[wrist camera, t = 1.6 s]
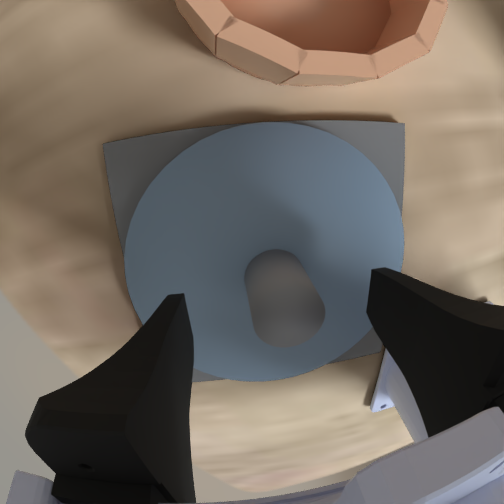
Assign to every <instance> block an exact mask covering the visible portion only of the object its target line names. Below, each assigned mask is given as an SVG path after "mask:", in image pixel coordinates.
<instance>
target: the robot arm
mask: <svg viewBox="0 0 504 504" xmlns="http://www.w3.org/2000/svg"><path fill="white" fill-rule="evenodd" d="M366 313H367V315H368V318H369V320H370V322H371V324H372V326H373V328H374V330H375V332H376V334H377V335H378V337H379V338H380V340H381V341H382V343H383V344H384V346H385V348H386V349H385V353H384V357H383V362H382V365H381V369H380V373H379V377H378V381H377V384H376V388H375V391H374V395H373V398H372V402H371V405H370V409H371V411H372V412H377V411H381V410H384V409H387V408H390V407H394V406H395V408H396V409H397V411H398V413H399V415H400V417H401V418H402V420H403V422H404V424H405V426H406V427H407V429H408V431H409V433H410V435H411V437H412V439H413V440H414V442H415V444H412V445H410V446H407V447H405V448H402V449H400V450H398V451H396V452H394V453H391V454H389V455H387V456H385V457H382V458H380V459H378V460H376V461H375V462H373V463H371V464H370V465H368V466H367V467H365V468H364V469H362V470H360V471H359V472H357V473H356V474H355V475H354V477H353V478H352V479H350V480H347V481H343V482H339V483H336V484H332V485H328V486H324V487H319V488H315V489H310V490H306V491H301V492H296V493H290V494H285V495H279V496H273V497H265V498H258V499H250V500H240V501H229V502H214V503H196V498H195V490H194V481H193V472H192V461H191V446H190V426H189V409H190V397H191V387H192V377H193V366H194V337H193V333H192V328H191V324H190V319H189V314H188V310H187V305H186V300H185V295H184V293H180V294H170V295H167V296H166V298H165V299H164V300H163V301H162V303H161V304H160V305H159V306H158V308H157V309H156V310H155V312H154V313H153V314H152V315H151V317H150V318H149V319H148V320H147V321H146V323H145V324H144V325H143V326H142V327H141V328H140V329H139V330H138V331H137V333H136V334H135V335H134V336H133V337H132V338H131V339H130V340H129V341H128V342H127V343H126V344H125V345H124V346H123V347H122V348H121V349H119V350H118V351H117V352H116V353H115V354H114V355H112V356H111V357H110V358H109V359H107V360H106V361H105V362H103V363H102V364H100V365H99V366H98V367H96V368H95V369H94V370H92V371H91V372H89V373H87V374H86V375H84V376H83V377H81V378H79V379H78V380H76V381H74V382H72V383H70V384H68V385H66V386H65V387H63V388H60V389H58V390H56V391H54V392H52V393H49V394H47V395H45V396H42V397H40V398H39V399H38V401H37V404H36V406H35V409H34V411H33V413H32V416H31V418H30V420H29V423H28V426H27V428H26V432H25V437H26V439H27V441H28V444H29V445H30V447H31V448H32V449H33V450H34V452H35V453H36V454H37V455H38V456H39V457H40V458H41V459H42V460H43V461H44V462H45V463H46V464H47V465H48V466H49V467H50V468H51V469H52V470H53V471H54V472H55V473H56V475H55V479H54V482H53V481H51V480H49V479H47V478H44V477H42V476H38V475H34V474H30V473H26V472H23V471H19V470H17V471H16V472H15V475H14V478H13V481H12V484H11V487H10V491H9V494H8V498H7V502H6V504H504V306H499V305H493V303H492V302H490V301H488V302H485V303H483V302H478V301H474V300H470V299H467V298H464V297H460V296H457V295H454V294H451V293H448V292H446V291H443V290H440V289H438V288H435V287H433V286H430V285H428V284H426V283H423V282H421V281H419V280H417V279H414V278H412V277H410V276H407V275H405V274H403V273H400V272H398V271H395V270H392V269H389V268H386V267H382V268H376V269H371V278H370V286H369V294H368V302H367V309H366Z"/></svg>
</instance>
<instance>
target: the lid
mask: <svg viewBox="0 0 504 504" xmlns="http://www.w3.org/2000/svg"><path fill="white" fill-rule="evenodd" d="M403 255H404V231H403V224H402V219H401V214H400V210H399V207H398V204H397V202H396V199H395V196H394V194H393V192H392V190H391V188H390V187H389V185H388V183H387V181H386V179H385V178H384V177H383V175H382V174H381V173H380V171H379V170H378V169H377V167H376V166H375V165H374V164H373V163H372V162H371V161H370V160H369V159H368V158H367V157H366V156H365V155H364V154H363V153H361V152H360V151H359V150H357V149H356V148H355V147H353V146H352V145H350V144H349V143H348V142H346V141H344V140H342V139H340V138H338V137H336V136H334V135H332V134H330V133H328V132H325V131H322V130H319V129H316V128H313V127H310V126H305V125H299V124H293V123H284V122H261V123H253V124H245V125H240V126H236V127H233V128H229V129H226V130H222V131H220V132H217V133H215V134H213V135H211V136H208V137H206V138H204V139H202V140H200V141H198V142H197V143H195V144H194V145H192V146H190V147H189V148H187V149H186V150H184V151H183V152H181V153H180V154H179V155H178V156H177V157H176V158H174V159H173V160H172V161H171V162H170V163H169V164H168V165H166V166H165V167H164V168H163V170H162V171H161V172H160V173H159V174H158V175H157V177H156V178H155V179H154V180H153V181H152V182H151V184H150V185H149V187H148V188H147V190H146V191H145V193H144V195H143V196H142V198H141V199H140V201H139V203H138V205H137V208H136V210H135V212H134V215H133V217H132V219H131V222H130V226H129V230H128V234H127V238H126V245H125V255H124V263H125V277H126V282H127V287H128V292H129V295H130V298H131V301H132V303H133V306H134V309H135V311H136V312H137V314H138V316H139V318H140V320H141V322H142V323H143V325H144V324H145V323H146V321H147V320H148V319H149V318H150V317H151V315H152V314H153V313H154V312H155V310H156V309H157V308H158V306H159V305H160V304H161V303H162V301H163V300H164V299H165V298H166V296H167V295H170V294H180V293H184V295H185V300H186V305H187V310H188V314H189V319H190V324H191V328H192V333H193V337H194V366H193V368H195V369H197V370H199V371H202V372H204V373H207V374H210V375H213V376H217V377H221V378H226V379H230V380H238V381H271V380H280V379H285V378H289V377H294V376H297V375H300V374H304V373H307V372H309V371H312V370H314V369H317V368H319V367H321V366H323V365H325V364H327V363H329V362H331V361H332V360H334V359H336V358H337V357H339V356H340V355H342V354H343V353H345V352H346V351H348V350H349V349H350V348H351V347H353V346H354V345H355V344H356V343H357V342H359V341H360V340H361V339H362V338H363V337H364V336H365V335H366V334H367V333H368V332H369V331H370V329H371V328H372V327H373V326H372V324H371V322H370V320H369V318H368V315H367V313H366V309H367V302H368V294H369V286H370V278H371V269H376V268H382V267H386V268H389V269H392V270H395V271H398V272H400V273H401V268H402V263H403Z"/></svg>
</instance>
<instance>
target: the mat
mask: <svg viewBox="0 0 504 504" xmlns="http://www.w3.org/2000/svg"><path fill="white" fill-rule="evenodd" d="M274 122H284V123H293V124H299V125H305V126H310V127H313V128H316V129H319V130H322V131H325V132H328V133H330V134H332V135H334V136H336V137H338V138H340V139H342V140H344V141H346V142H348V143H349V144H350V145H352V146H353V147H355V148H356V149H357V150H359V151H360V152H361V153H363V154H364V155H365V156H366V157H367V158H368V159H369V160H370V161H371V162H372V163H373V164H374V165H375V166H376V167H377V169H378V170H379V171H380V173H381V174H382V175H383V177H384V178H385V179H386V181H387V183H388V185H389V187H390V188H391V190H392V192H393V194H394V196H395V199H396V202H397V204H398V207H399V210H400V214H401V217H402V204H403V187H404V161H405V123H394V122H377V121H349V120H302V121H274ZM256 123H261V122H256ZM245 124H253V123H242V124H230V125H220V126H210V127H201V128H193V129H185V130H178V131H171V132H164V133H157V134H151V135H145V136H139V137H134V138H129V139H123V140H118V141H113V142H108V143H104V144H103V149H104V157H105V163H106V170H107V176H108V182H109V188H110V194H111V199H112V205H113V210H114V215H115V220H116V225H117V229H118V234H119V239H120V243H121V247H122V252H123V256H124V255H125V245H126V238H127V234H128V230H129V226H130V222H131V219H132V217H133V215H134V212H135V210H136V208H137V205H138V203H139V201H140V199H141V198H142V196H143V195H144V193H145V191H146V190H147V188H148V187H149V185H150V184H151V182H152V181H153V180H154V179H155V178H156V177H157V175H158V174H159V173H160V172H161V171H162V170H163V168H164V167H165V166H166V165H168V164H169V163H170V162H171V161H172V160H173V159H174V158H176V157H177V156H178V155H179V154H180V153H181V152H183V151H184V150H186V149H187V148H189V147H190V146H192V145H194V144H195V143H197V142H198V141H200V140H202V139H204V138H206V137H208V136H211V135H213V134H215V133H217V132H220V131H222V130H226V129H229V128H233V127H236V126H240V125H245ZM142 325H143V323H142ZM381 348H382V341H381V340H380V338H379V337H378V335H377V334H376V332H375V330H374V328H373V327H372V328H371V329H370V331H369V332H368V333H367V334H366V335H365V336H364V337H363V338H362V339H361V340H360V341H359V342H357V343H356V344H355V345H354V346H353V347H351V348H350V349H349V350H348V351H346V352H345V353H343V354H342V355H340V356H339V357H337V358H336V359H334V360H332V361H331V362H329V363H334V362H339V361H344V360H349V359H353V358H358V357H362V356H366V355H371V354H375V353H379V352H381ZM329 363H327V364H329ZM223 379H226V378H221V377H217V376H213V375H210V374H207V373H204V372H202V371H199V370H197V369H195V368H193V377H192V382H201V381H212V380H223Z"/></svg>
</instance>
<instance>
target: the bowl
mask: <svg viewBox="0 0 504 504" xmlns="http://www.w3.org/2000/svg"><path fill="white" fill-rule="evenodd" d="M175 3H176V6H177V9H178V11H179V12H180V14H181V15H182V16H183V17H184V18H185V20H186V21H187V22H188V24H189V26H190V27H191V29H192V30H193V32H194V33H195V34H196V36H197V37H198V38H199V39H200V40H201V41H202V43H203V44H204V45H205V46H206V47H207V48H208V49H209V50H210V51H211V52H212V53H213V55H214V56H216V57H217V58H219V59H222V60H224V61H225V62H227V63H228V64H230V65H231V66H233V67H235V68H237V69H239V70H241V71H243V72H245V73H247V74H250V75H252V76H255V77H257V78H260V79H264V80H267V81H270V82H272V83H274V84H276V85H277V84H279V85H292V86H322V85H333V86H342V85H347V84H352V83H357V82H362V81H367V80H372V79H378V78H381V77H382V76H384V75H386V74H388V73H390V72H392V71H394V70H396V69H397V68H399V67H401V66H403V65H405V64H407V63H409V62H411V61H413V60H415V59H417V58H419V57H421V56H423V55H425V54H427V53H429V51H431V49H432V46H433V44H434V41H435V39H436V36H437V34H438V31H439V29H440V26H441V24H442V21H443V18H444V16H445V13H446V11H447V8H448V7H447V6H448V4H447V0H175Z"/></svg>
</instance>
